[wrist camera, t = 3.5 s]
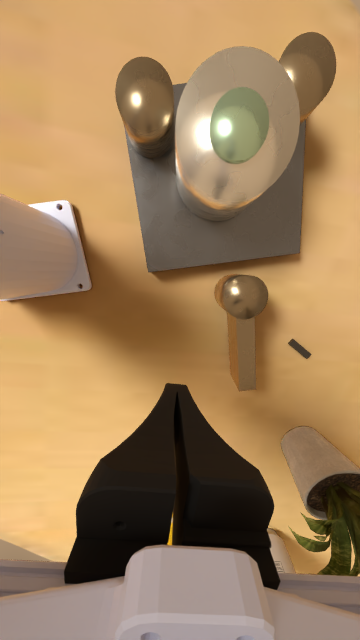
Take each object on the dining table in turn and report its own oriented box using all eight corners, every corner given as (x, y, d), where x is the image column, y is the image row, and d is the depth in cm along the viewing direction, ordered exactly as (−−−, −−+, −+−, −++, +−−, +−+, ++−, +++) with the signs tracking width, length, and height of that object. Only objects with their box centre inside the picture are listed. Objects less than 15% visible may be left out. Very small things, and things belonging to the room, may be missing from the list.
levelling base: (166, 374, 22) (162, 420, 15) (124, 109, 15) (83, -14, 9) (310, 357, 22) (369, 397, 15) (329, 80, 15) (451, -70, 8)
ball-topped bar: (213, 276, 19) (222, 278, 15) (249, 272, 19) (268, 272, 15) (220, 371, 21) (229, 394, 18) (251, 368, 21) (267, 390, 18)
